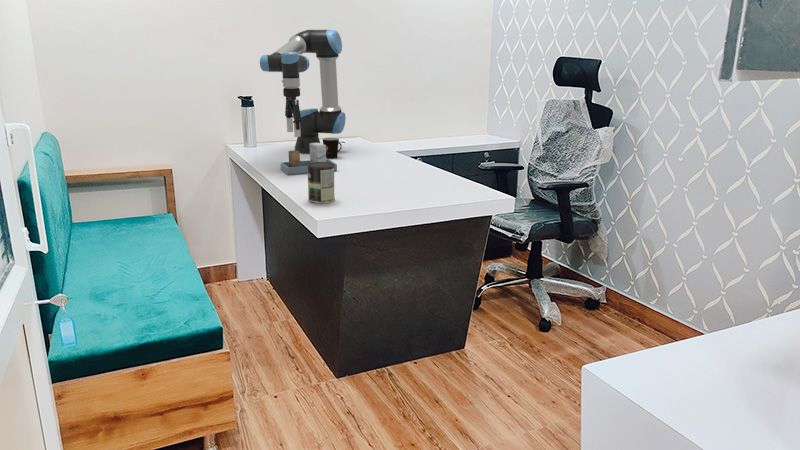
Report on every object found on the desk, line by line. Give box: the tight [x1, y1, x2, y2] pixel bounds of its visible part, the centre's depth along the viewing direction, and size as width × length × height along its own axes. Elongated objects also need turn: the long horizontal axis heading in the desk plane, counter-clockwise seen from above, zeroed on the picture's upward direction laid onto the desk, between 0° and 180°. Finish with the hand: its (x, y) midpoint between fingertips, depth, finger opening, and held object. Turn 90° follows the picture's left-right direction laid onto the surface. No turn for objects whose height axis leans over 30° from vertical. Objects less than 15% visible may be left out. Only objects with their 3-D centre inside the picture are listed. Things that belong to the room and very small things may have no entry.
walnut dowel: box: [288, 149, 301, 167], centre depth 279 cm, size 5×5×9 cm
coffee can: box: [307, 162, 335, 204], centre depth 229 cm, size 10×10×14 cm
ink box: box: [309, 142, 326, 163], centre depth 283 cm, size 9×5×12 cm, turn 33°
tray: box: [280, 159, 338, 176], centre depth 282 cm, size 14×24×4 cm, turn 114°
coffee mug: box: [322, 137, 343, 160], centre depth 312 cm, size 12×9×10 cm
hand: (293, 134), depth 276 cm, fingers open, 13 cm apart
